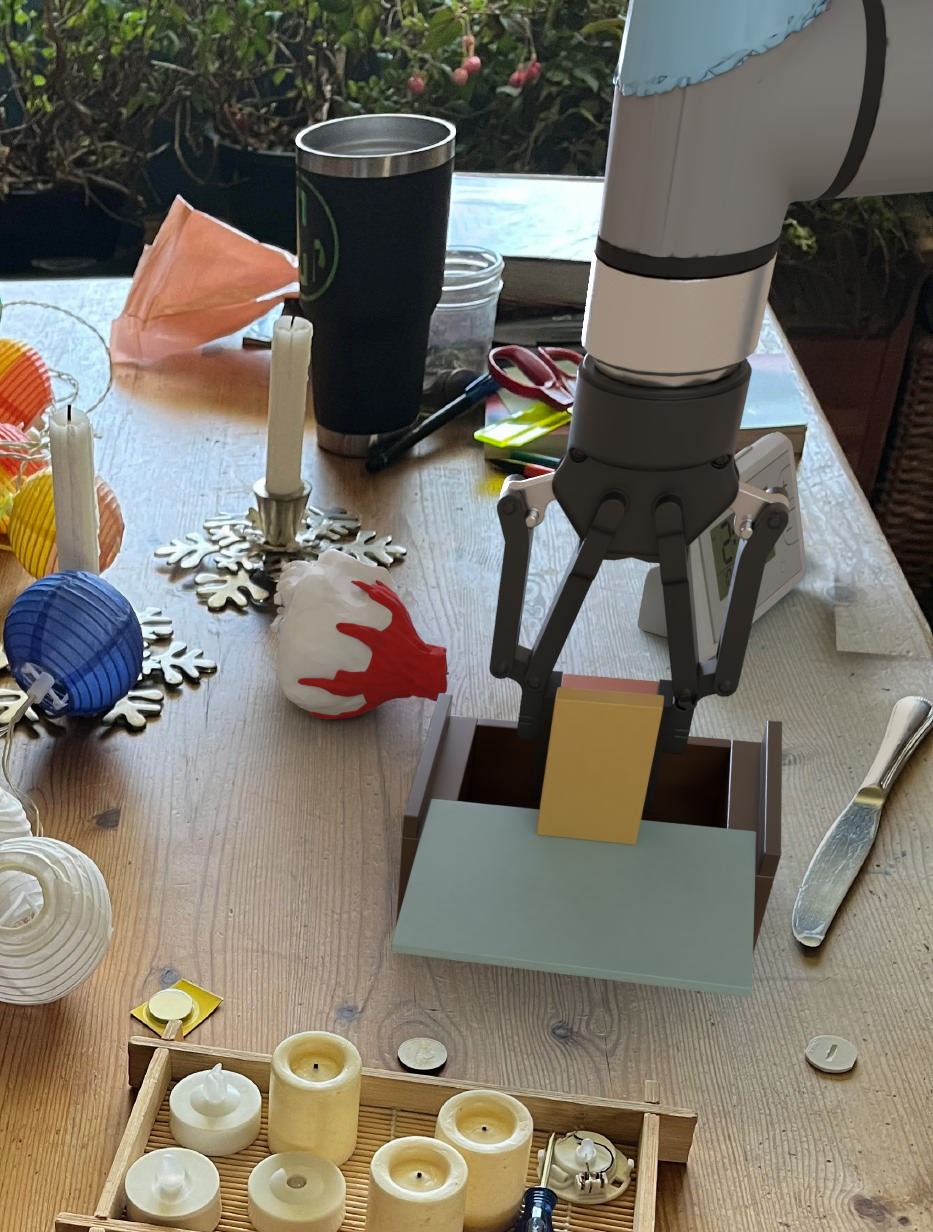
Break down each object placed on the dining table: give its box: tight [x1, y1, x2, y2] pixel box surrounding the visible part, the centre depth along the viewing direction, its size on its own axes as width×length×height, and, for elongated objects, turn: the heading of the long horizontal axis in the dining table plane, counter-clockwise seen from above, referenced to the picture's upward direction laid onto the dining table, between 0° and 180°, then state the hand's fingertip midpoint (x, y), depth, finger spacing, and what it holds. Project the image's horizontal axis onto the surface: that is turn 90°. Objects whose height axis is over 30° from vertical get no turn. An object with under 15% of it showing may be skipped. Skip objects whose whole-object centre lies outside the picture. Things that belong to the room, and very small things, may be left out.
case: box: [395, 693, 783, 954], centre depth 87 cm, size 19×13×9 cm
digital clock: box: [637, 431, 807, 662], centre depth 108 cm, size 16×9×11 cm, turn 126°
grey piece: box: [390, 687, 756, 999], centre depth 75 cm, size 17×13×9 cm
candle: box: [269, 548, 450, 720], centre depth 105 cm, size 9×11×15 cm
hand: (591, 792), depth 86 cm, fingers closed on block, 5 cm apart
